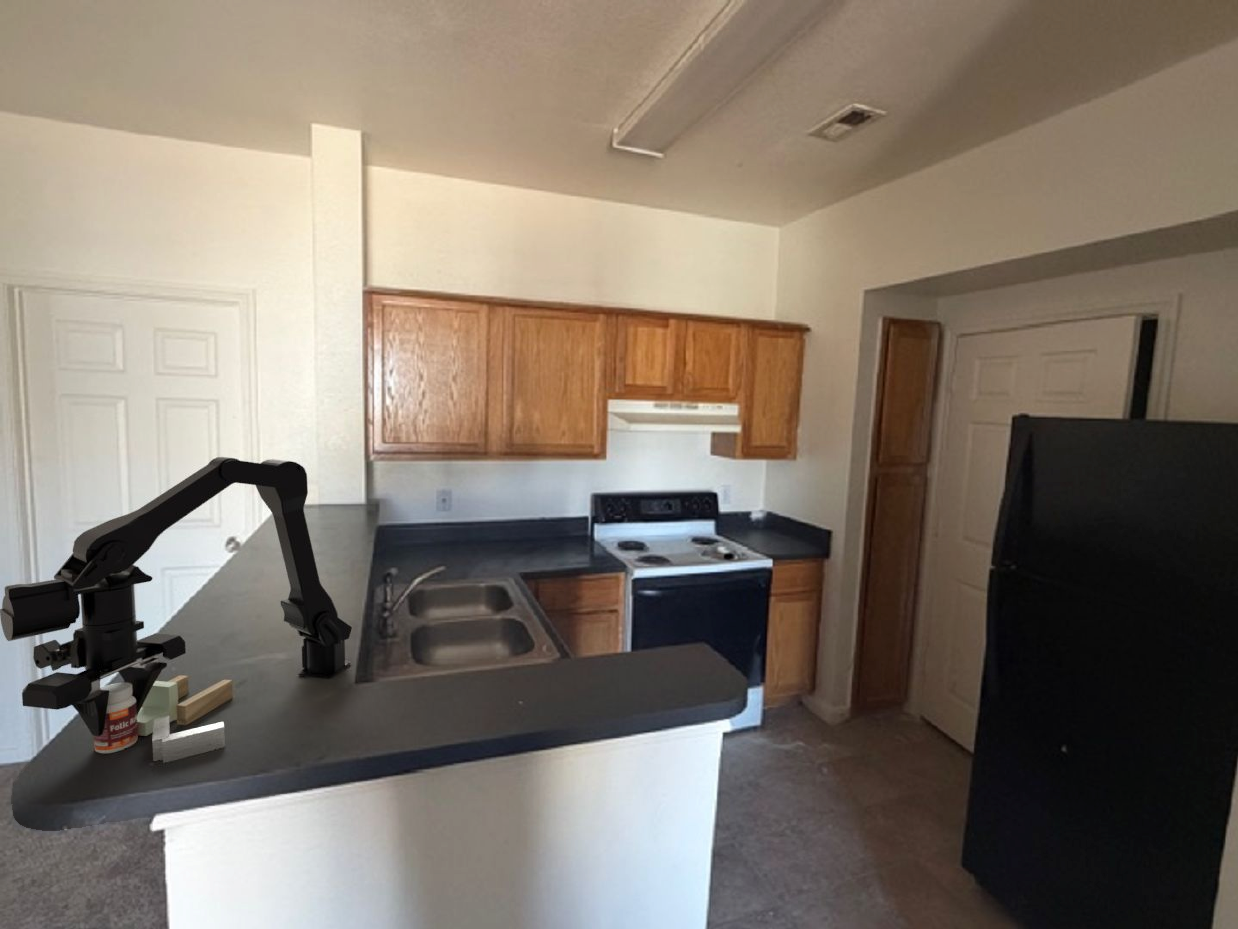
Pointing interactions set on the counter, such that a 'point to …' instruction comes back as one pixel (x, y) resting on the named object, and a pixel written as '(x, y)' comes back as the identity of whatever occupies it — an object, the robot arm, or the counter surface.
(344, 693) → the counter surface
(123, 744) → the pill bottle
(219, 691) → the channel
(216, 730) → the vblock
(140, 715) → the block
